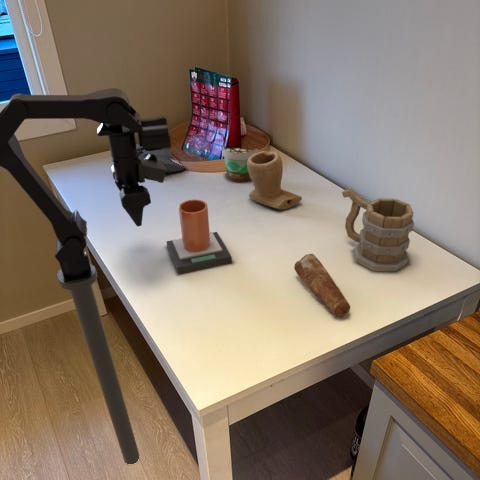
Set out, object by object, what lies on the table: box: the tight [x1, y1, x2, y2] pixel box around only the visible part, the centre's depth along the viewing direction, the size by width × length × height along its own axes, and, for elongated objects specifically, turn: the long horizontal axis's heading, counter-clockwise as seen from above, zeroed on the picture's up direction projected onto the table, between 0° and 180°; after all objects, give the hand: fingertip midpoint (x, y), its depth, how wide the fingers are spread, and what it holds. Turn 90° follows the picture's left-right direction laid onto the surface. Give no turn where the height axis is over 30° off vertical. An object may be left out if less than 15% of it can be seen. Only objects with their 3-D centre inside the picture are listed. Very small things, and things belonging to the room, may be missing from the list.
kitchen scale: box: [165, 231, 233, 275], centre depth 126 cm, size 14×13×3 cm
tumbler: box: [178, 199, 211, 252], centre depth 122 cm, size 7×7×11 cm
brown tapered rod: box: [294, 253, 351, 317], centre depth 111 cm, size 6×19×6 cm, turn 19°
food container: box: [221, 144, 260, 183], centre depth 157 cm, size 12×6×10 cm, turn 73°
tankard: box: [341, 188, 415, 272], centre depth 121 cm, size 20×13×15 cm, turn 41°
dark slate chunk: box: [136, 143, 187, 174], centre depth 169 cm, size 15×22×5 cm
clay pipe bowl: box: [247, 150, 303, 210], centre depth 142 cm, size 15×12×15 cm
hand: (136, 216), depth 116 cm, fingers open, 9 cm apart
